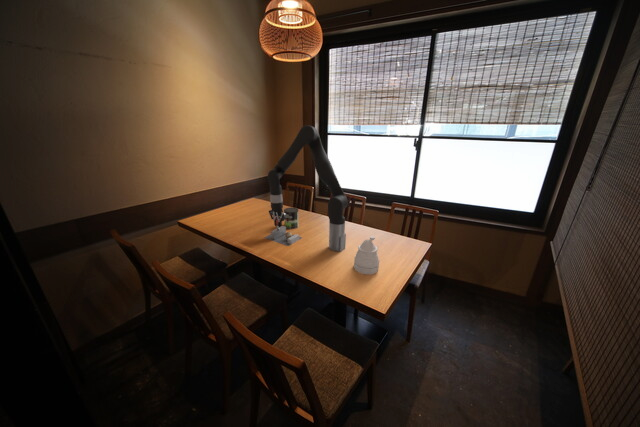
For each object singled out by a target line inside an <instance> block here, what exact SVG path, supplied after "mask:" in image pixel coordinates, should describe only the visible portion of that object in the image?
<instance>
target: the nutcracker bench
mask: <svg viewBox="0 0 640 427" xmlns="http://www.w3.org/2000/svg"><path fill="white" fill-rule="evenodd" d="M263 239H267V240H269V241H271V242H275V243H277V244H280V245H283V246H287V247H289V246H291V245H294V243H296V242H298V241H299V240H301V239H302V237H301V236H300V234H297V233H296V234H292V236H291V237H290V238H287V237H286V234H284V235H282V236H281V237H279V238H277V239H275V240H274V239H271V233H270V234H267V235H266V236H264V237H263Z"/></svg>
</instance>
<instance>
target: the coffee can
mask: <svg viewBox="0 0 640 427" xmlns="http://www.w3.org/2000/svg"><path fill="white" fill-rule="evenodd" d="M283 213H286V217H285V220H284V226H285V227H286V230H287V229H288V230H293V229H297V228H299V226H300V225H299V224H300V223H299V208H297V207H291V206H290V207H285V208H284V209H283Z"/></svg>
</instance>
